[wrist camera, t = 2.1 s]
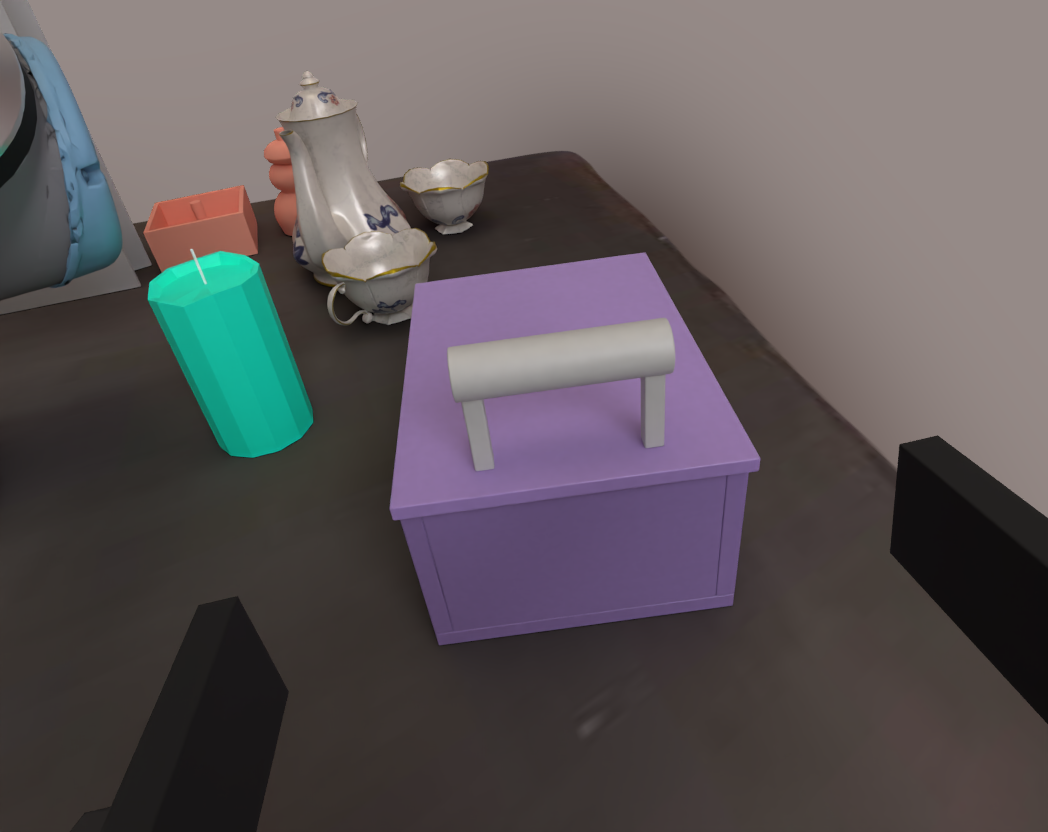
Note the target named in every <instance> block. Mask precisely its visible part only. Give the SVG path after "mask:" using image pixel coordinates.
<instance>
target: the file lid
mask: <svg viewBox="0 0 1048 832" xmlns="http://www.w3.org/2000/svg"><path fill="white" fill-rule="evenodd" d="M759 465H760V457H759V455H758V453H757V451H756V450H755V448H754V446H753V444H752V443H751V441H750V439H749V437H748V435H747V434H746V432H745V430H744V428H743V426H742V425H741V423H740V421H739V419H738V418H737V416H736V414H735V412H734V410H733V409H732V407H731V405H730V403H729V401H728V400H727V398H726V396H725V394H724V392H723V391H722V389H721V387H720V385H719V384H718V382H717V380H716V378H715V376H714V375H713V373H712V371H711V369H710V367H709V366H708V364H707V362H706V360H705V359H704V357H703V355H702V353H701V351H700V350H699V348H698V346H697V344H696V342H695V341H694V339H693V337H692V335H691V333H690V332H689V330H688V328H687V326H686V325H685V323H684V321H683V319H682V317H681V316H680V314H679V312H678V310H677V308H676V307H675V305H674V303H673V301H672V300H671V298H670V296H669V294H668V292H667V291H666V289H665V287H664V285H663V283H662V282H661V280H660V278H659V276H658V274H657V273H656V271H655V269H654V267H653V266H652V264H651V262H650V260H649V258H648V257H647V255H646V253H638V254H630V255H623V256H616V257H608V258H601V259H594V260H586V261H579V262H572V263H565V264H557V265H550V266H543V267H535V268H528V269H521V270H513V271H506V272H499V273H491V274H484V275H477V276H469V277H462V278H455V279H447V280H440V281H433V282H425V283H418V284H415V289H414V298H413V307H412V316H411V325H410V333H409V342H408V351H407V360H406V368H405V377H404V386H403V395H402V403H401V412H400V421H399V430H398V438H397V447H396V456H395V465H394V473H393V482H392V491H391V500H390V512H391V515H392V518H393V520H402V519H409V518H417V517H424V516H431V515H439V514H446V513H453V512H461V511H468V510H475V509H483V508H490V507H498V506H505V505H512V504H520V503H527V502H534V501H542V500H549V499H556V498H564V497H571V496H578V495H586V494H593V493H600V492H608V491H615V490H623V489H630V488H637V487H645V486H652V485H659V484H667V483H674V482H681V481H689V480H696V479H703V478H711V477H718V476H725V475H733V474H740V473H748V472H755V471H759Z"/></svg>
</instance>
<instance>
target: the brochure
mask: <svg viewBox="0 0 1048 832" xmlns="http://www.w3.org/2000/svg"><path fill="white" fill-rule="evenodd" d="M0 31H1V33H2V34H4V33H7V34H13V35H15V36H18V37H33V38H35V39H37V40H39V41H41V42H43V43H44V44H45V45H46V46H47V47H48V48H49V49H50V47H49V45H48V43H47V41H46V39H45V37H44V34H43V32H42V30H41V28H40V26H39V24H38V22H37V20H36V17H35V16H34V13H33V11H32V9H31V7H30V5H29V3H28V1H27V0H0ZM50 50H51V49H50ZM51 52H52V51H51ZM88 131H89V130H88ZM89 133H90V132H89ZM90 136H91V134H90ZM91 138H92V136H91ZM92 141H93V138H92ZM93 144H94V146H95V150H96V154H97V157H98V160H99V162H100V170H101V171H102V172H103V174H104V176H105V178H106V181H107V183H108V186H109V189H110V192H111V194H112V197H113V201H114V204H115V207H116V211H117V214H118V218H119V222H120V226H121V231H122V240H123V244H122V250H121V253H120V255H119V257H118V258H117V260H116V261H115V262H114V263H112V264H111V265H110V266H108V267H106V268H104V269H101V270H98V271H95V272H93V273H90V274H87V275H84V276H81V277H78V278H75V279H73V280H72V281H71V282H70V283H69V284H67V285H66V286H63V287H59V288H50V287H47V288H43V289H40V290H36V291H32V292H29V293H25V294H22V295H18V296H15V297H12V298H8V299H5V300H1V301H0V315H1V314H6V313H11V312H16V311H21V310H26V309H31V308H36V307H41V306H46V305H51V304H56V303H61V302H66V301H71V300H76V299H81V298H86V297H91V296H96V295H101V294H106V293H111V292H116V291H121V290H126V289H131V288H136V287H141V284H140V282H139V280H138V277H137V275H136V273H135V270H138V269H141V268H144V267H148V266H151V265H152V264H151V261H150V259H149V257H148V255H147V253H146V251H145V249H144V247H143V244H142V242H141V240H140V238H139V236H138V234H137V232H136V230H135V227H134V225H133V223H132V221H131V219H130V217H129V215H128V213H127V211H126V208H125V206H124V204H123V202H122V200H121V198H120V196H119V194H118V191H117V189H116V187H115V185H114V183H113V181H112V179H111V177H110V175H109V172H108V170H107V168H106V166H105V164H104V162H103V160H102V158H101V155H100V153H99V151H98V149H97V147H96V145H95V143H94V141H93Z"/></svg>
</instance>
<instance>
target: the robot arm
mask: <svg viewBox="0 0 1048 832" xmlns="http://www.w3.org/2000/svg"><path fill="white" fill-rule="evenodd" d="M122 244H123V240H122V231H121V226H120V222H119V218H118V214H117V211H116V207H115V204H114V201H113V197H112V194H111V192H110V189H109V186H108V183H107V181H106V178H105V176H104V174H103V172H102V171H101V170H100V162H99V160H98V157H97V154H96V150H95V146H94V144H93V141H92V138H91V136H90V133H89V131H88V128H87V126H86V124H85V121H84V119H83V116H82V114H81V111H80V109H79V107H78V104H77V102H76V100H75V97H74V95H73V93H72V90H71V89H70V86H69V84H68V82H67V80H66V78H65V76H64V74H63V72H62V70H61V68H60V65H59V64H58V62H57V60H56V58H55V57H54V55H53V53H52V52H51V50H50V49H49V48H48V47H47V46H46V45H45V44H44V43H43V42H41V41H39V40H37V39H35V38H33V37H18V36H15V35H13V34H7V33H4V34H2V33H1V31H0V301H1V300H5V299H8V298H12V297H15V296H18V295H22V294H25V293H29V292H32V291H36V290H40V289H43V288H47V287H50V288H59V287H63V286H66V285H67V284H69V283H70V282H71V281H72V280H73V279H75V278H78V277H81V276H84V275H87V274H90V273H93V272H95V271H98V270H101V269H104V268H106V267H108V266H110V265H111V264H112V263H114V262H115V261H116V260H117V258H118V257H119V255H120V253H121V250H122ZM890 553H891V554H892V555H893V556H894V557H895V558H896V560H897V561H898V562H899V563H900V564H901V565H902V566H903V567H904V568H905V569H906V570H907V572H908V573H909V574H910V575H911V576H912V577H913V578H914V579H915V580H916V581H917V582H918V583H919V585H920V586H921V587H922V588H923V589H924V590H925V591H926V592H927V593H928V594H929V595H930V597H931V598H932V599H933V600H934V601H935V602H936V603H937V604H938V605H939V606H940V607H941V608H942V610H943V611H944V612H945V613H946V614H947V615H948V616H949V617H950V618H951V619H952V620H953V622H954V623H955V624H956V625H957V626H958V627H959V628H960V629H961V630H962V631H963V632H964V633H965V635H966V636H967V637H968V638H969V639H970V640H971V641H972V642H973V643H974V644H975V645H976V647H977V648H978V649H979V650H980V651H981V652H982V653H983V654H984V655H985V656H986V657H987V658H988V660H989V661H990V662H991V663H992V664H993V665H994V666H995V667H996V668H997V669H998V670H999V672H1000V673H1001V674H1002V675H1003V676H1004V677H1005V678H1006V679H1007V680H1008V681H1009V682H1010V684H1011V685H1012V686H1013V687H1014V688H1015V689H1016V690H1017V691H1018V692H1019V693H1020V694H1021V695H1022V697H1023V698H1024V699H1025V700H1026V701H1027V702H1028V703H1029V704H1030V705H1031V706H1032V707H1033V709H1034V710H1035V711H1036V712H1037V713H1038V714H1039V715H1040V716H1041V717H1042V718H1043V719H1044V720H1045V722H1046V723H1047V724H1048V518H1047V517H1045V516H1044V515H1043V514H1042V513H1040V512H1039V511H1037V510H1036V509H1035V508H1034V507H1032V506H1031V505H1030V504H1028V503H1027V502H1026V501H1024V500H1023V499H1022V498H1020V497H1019V496H1017V495H1016V494H1015V493H1014V492H1012V491H1011V490H1010V489H1008V488H1007V487H1006V486H1004V485H1003V484H1002V483H1000V482H999V481H997V480H996V479H995V478H994V477H992V476H991V475H990V474H988V473H987V472H986V471H984V470H983V469H982V468H980V467H979V466H978V465H976V464H975V463H974V462H972V461H971V460H970V459H968V458H967V457H966V456H964V455H963V454H962V453H960V452H959V451H958V450H956V449H955V448H954V447H952V446H951V445H950V444H948V443H947V442H946V441H944V440H943V439H942V438H940V437H939V436H934V437H930V438H925V439H921V440H916V441H912V442H908V443H903V444H900V446H899V457H898V468H897V480H896V491H895V502H894V514H893V525H892V536H891V548H890ZM288 692H289V691H288V689H287V687H286V686H285V684H284V682H283V680H282V678H281V676H280V674H279V673H278V671H277V669H276V667H275V665H274V663H273V661H272V660H271V658H270V656H269V654H268V652H267V650H266V648H265V646H264V645H263V643H262V641H261V639H260V637H259V635H258V633H257V632H256V630H255V628H254V626H253V624H252V622H251V620H250V619H249V617H248V615H247V613H246V611H245V609H244V607H243V605H242V604H241V602H240V600H239V598H238V596H237V597H232V598H228V599H224V600H219V601H215V602H211V603H206V604H202V605H198V608H197V610H196V612H195V615H194V617H193V619H192V621H191V624H190V626H189V628H188V631H187V633H186V635H185V638H184V640H183V642H182V645H181V647H180V649H179V651H178V654H177V656H176V658H175V661H174V663H173V665H172V668H171V670H170V672H169V674H168V677H167V679H166V681H165V684H164V686H163V688H162V691H161V693H160V695H159V697H158V700H157V702H156V704H155V707H154V709H153V711H152V714H151V716H150V718H149V721H148V723H147V725H146V727H145V730H144V732H143V734H142V737H141V739H140V741H139V744H138V746H137V748H136V750H135V753H134V755H133V757H132V760H131V762H130V764H129V767H128V769H127V771H126V773H125V776H124V778H123V780H122V783H121V785H120V787H119V790H118V792H117V794H116V796H115V799H114V801H113V803H112V806H111V807H108V808H103V809H99V810H95V811H90V812H86V813H84V814H83V816H82V817H81V818H80V819H79V821H78V822H77V823H76V825H75V826H74V827H73V828H72V830H71V831H70V832H256V830H257V826H258V821H259V817H260V813H261V808H262V804H263V800H264V795H265V791H266V787H267V783H268V778H269V774H270V770H271V765H272V761H273V757H274V753H275V748H276V744H277V740H278V735H279V731H280V727H281V722H282V718H283V714H284V710H285V705H286V701H287V697H288Z"/></svg>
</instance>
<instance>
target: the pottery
mask: <svg viewBox="0 0 1048 832" xmlns="http://www.w3.org/2000/svg"><path fill="white" fill-rule="evenodd" d="M282 131H285V130H284V128H283V127H280V128H276V129H274V133H275V136H276V139H277V140H274V141H272V142H271V143H269V144H268V145H267V147H266V148H265V150H264V157H265V158H266V159H267V160H268V161H269V162H270V163H273V165H272V166H271V168H270V171H269V177H270V181H271V183H272V184H273V185H274V186H275V187H276V188H277V189H279V190H281V192H280V193H279V195H278V196H277V198H276V201H275V205H274V212H275V217H276V220H277V222H278V223H279V225H280V227H281V228H282V230H283V232H284V233H285V234H287V235H289V236H292V235H293V229H294V225H295V221H296V218H297V208H296V192H295V184H294V176H293V169H292V162H291V157H290V153H289V150H288V148H287V145H286V144H285V142H284V141H283V140H282V138H281V137H280V135H279V133H280V132H282ZM143 234H144V236H145V238H146V240H147V242H148V244H149V246H150V249H151V251H152V253H153V255H154V257H155V259H156V262H157V264H158V266H159V268H160V270H161V272H163V271H165V270H166V269H167V268H170V267H173V266H176V265H179V264H182V263H184V262H187V261H190V260H193V259H194V258H193V256H192V254H191V251H190V249H193V251H194V253H195V256H196V258H199V257H203V256H206V255H209V254H212V253H215V252H218V251H224V252H230V253H236V254H241V255H246V256H249V255H254V254H258V235H257V221H256V218H255V215H254V213H253V210H252V207H251V204H250V201H249V198H248V196H247V193H246V190H245V187H244V185H241V186H236V187H231V188H227V189H222V190H217V191H212V192H207V193H202V194H197V195H192V196H187V197H182V198H177V199H172V200H167V201H162V202H157V203H155V204H154V206H153V209H152V212H151V214H150V217H149V220H148V222H147V225H146V228H145V230H144V233H143Z"/></svg>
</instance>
